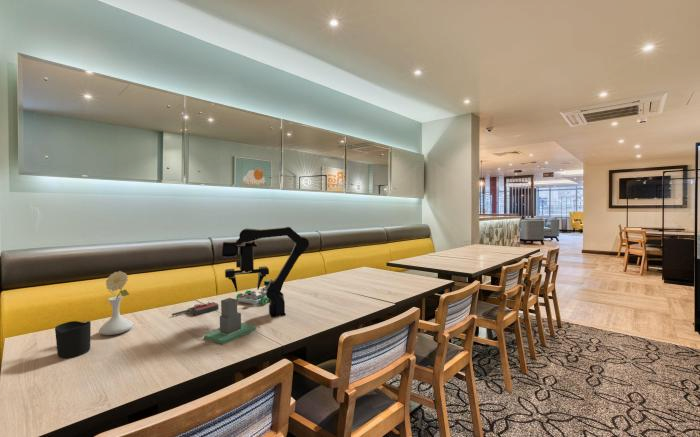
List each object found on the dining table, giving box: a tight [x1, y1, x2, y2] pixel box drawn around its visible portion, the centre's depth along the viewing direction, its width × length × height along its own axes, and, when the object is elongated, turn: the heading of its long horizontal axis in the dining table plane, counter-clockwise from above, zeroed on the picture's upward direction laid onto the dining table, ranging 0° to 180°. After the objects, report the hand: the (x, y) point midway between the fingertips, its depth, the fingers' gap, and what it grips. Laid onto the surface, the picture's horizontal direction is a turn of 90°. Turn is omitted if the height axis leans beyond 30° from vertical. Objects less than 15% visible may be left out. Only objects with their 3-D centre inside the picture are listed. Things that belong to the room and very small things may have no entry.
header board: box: [203, 322, 257, 345], centre depth 131 cm, size 16×11×5 cm
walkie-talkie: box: [171, 301, 219, 317], centre depth 156 cm, size 9×4×20 cm
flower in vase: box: [98, 270, 134, 336], centre depth 132 cm, size 13×11×25 cm
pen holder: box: [54, 320, 92, 359], centre depth 114 cm, size 9×9×10 cm
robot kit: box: [235, 279, 271, 306], centre depth 178 cm, size 19×25×9 cm
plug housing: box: [219, 297, 242, 335], centre depth 130 cm, size 7×4×12 cm
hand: (247, 290), depth 150 cm, fingers open, 9 cm apart
